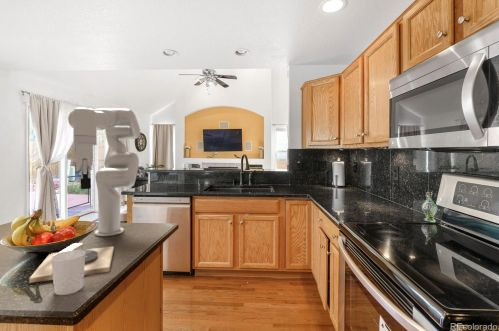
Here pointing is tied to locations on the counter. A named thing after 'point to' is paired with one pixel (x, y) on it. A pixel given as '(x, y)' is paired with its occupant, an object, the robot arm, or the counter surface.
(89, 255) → the dial
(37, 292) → the counter surface
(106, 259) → the dial panel
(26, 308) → the counter surface
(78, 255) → the white cup
